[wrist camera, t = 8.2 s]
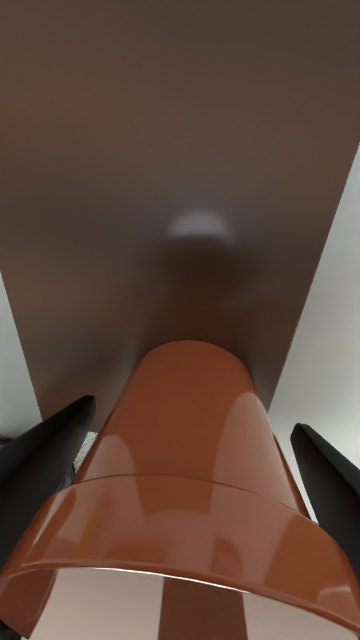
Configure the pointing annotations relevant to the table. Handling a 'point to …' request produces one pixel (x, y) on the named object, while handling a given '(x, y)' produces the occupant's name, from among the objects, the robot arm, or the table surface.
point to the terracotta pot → (181, 523)
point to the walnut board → (168, 179)
